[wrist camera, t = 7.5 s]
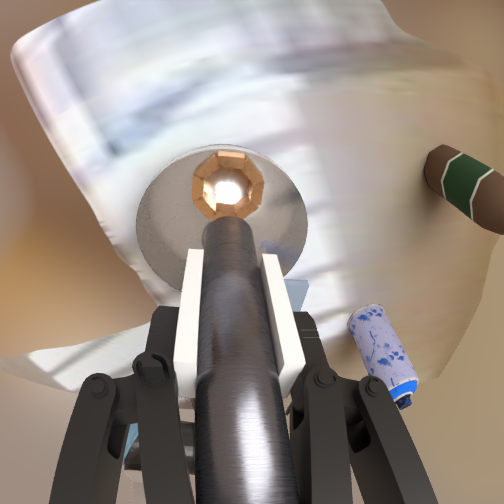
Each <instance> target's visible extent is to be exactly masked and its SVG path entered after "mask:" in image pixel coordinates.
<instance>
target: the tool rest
mask: <svg viewBox="0 0 504 504" xmlns="http://www.w3.org/2000/svg"><path fill="white" fill-rule="evenodd" d="M284 283H285V286H286V290H287V294H288V297H289V301H290V305H291V309H292V311H293V312H300V310H301V307H302V304H303V302H304V299H305V296H306V293H307V290H308V287H309V284H308V281H307V280H285V279H284Z"/></svg>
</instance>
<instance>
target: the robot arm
mask: <svg viewBox="0 0 504 504" xmlns="http://www.w3.org/2000/svg"><path fill="white" fill-rule="evenodd" d="M203 256H204V250H201V249H189V250H188V256H187V262H186V268H185V274H184V281H183V288H182V294H181V302H180V307H168V306H159V307H158V308H157V309H156V310H155V312H154V313H153V315H152V319H151V325H150V329H149V334H148V338H147V344H146V349H145V352H143V353H141V354H140V355H138V356H137V357H136V358H135V360H134V361H133V365H132V368H133V371H134V374H132V375H130V376H127V377H122V378H115V379H112V378H111V377H110V376H108V375H106V374H103V373H95V374H92V375H90V376H89V377H87V378H86V379H85V381H84V382H83V384H82V387H81V389H80V392H79V395H78V398H77V401H76V403H75V406H74V409H73V412H72V415H71V418H70V422H69V425H68V428H67V431H66V434H65V439H64V441H63V445H62V449H61V452H60V456H59V460H58V464H57V468H56V472H55V476H54V481H53V485H52V490H51V495H50V500H49V504H116V497H117V491H118V484H119V479H120V473H121V468H122V465H125V468H124V473H125V474H126V475H127V476H128V477H129V478H130V480H131V481H132V488H131V504H195V501H194V496H193V492H192V487H191V483H190V477H189V474H192V475H195V423H192V422H185V421H180V415H179V407H178V396H179V397H187V398H190V399H191V402H192V405H193V408H194V411H195V382H196V378H197V356H198V333H199V315H200V299H201V285H202V272H203ZM259 271H260V276H261V282H262V287H263V293H264V298H265V304H266V310H267V315H268V321H269V326H270V332H271V338H272V343H273V349H274V354H275V360H276V366H277V371H278V377H279V383H280V389H281V394H282V398H287V397H288V395H289V393H290V392H291V397H292V402H291V403H290V405H289V407H288V408H287V410H286V414H285V415H288V414H289V412H290V446H291V452H292V458H293V463H294V469H295V475H296V481H297V487H298V493H299V499H300V504H353V500H352V483H351V471H350V464H351V466H352V469H353V472H354V475H355V478H356V480H357V483H358V486H359V489H360V492H361V495H362V498H363V500H364V503H365V504H438V501H437V499H436V496H435V493H434V491H433V488H432V486H431V483H430V481H429V478H428V476H427V473H426V471H425V469H424V466H423V464H422V461H421V459H420V457H419V455H418V452H417V450H416V447H415V445H414V443H413V441H412V439H411V436H410V434H409V432H408V430H407V428H406V425H405V423H404V421H403V419H402V417H401V415H400V413H399V410H398V408H397V406H396V404H395V402H394V400H393V398H392V396H391V394H390V392H389V390H388V388H387V386H386V384H385V383H384V382H383V380H381V379H380V378H379V377H376V376H373V375H372V376H366V377H364V378H362V379H361V381H356V380H350V379H345V378H342V377H340V376H338V375H337V373H336V372H335V371H334V370H332V369H330V367H329V365H328V362H327V359H326V356H325V353H324V350H323V346H322V343H321V340H320V338H319V334H318V331H317V328H316V325H315V322H314V319H313V318H312V317H311V316H310V315H309V313H308V312H293V311H292V309H291V305H290V301H289V297H288V294H287V290H286V286H285V283H284V279H283V276H282V272H281V268H280V265H279V261H278V258H277V255H276V254H262V257H261V262H260V267H259Z"/></svg>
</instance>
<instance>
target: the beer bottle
mask: <svg viewBox="0 0 504 504" xmlns="http://www.w3.org/2000/svg"><path fill="white" fill-rule="evenodd" d="M424 171H425V175H426V179H427V182H428V186H429V187H430V188H432V189H433V190H434V191H435V192H436V193H438V194H439V195H441V196H442V197H443V198H445V199H446V200H447V201H449V202H450V203H451V204H453V205H454V206H455V207H456V208H458V209H459V210H460V211H462V212H463V213H464V214H465V215H466V216H468V217H469V218H470V219H471V220H473V221H474V222H475V223H477V224H478V225H480V226H481V227H482V228H484V229H487V230H489V231H492V232H495V233H498V234H501V235H504V177H503V176H502V175H501V174H499V173H498V172H496V171H495V170H493V169H492V168H490V167H488V166H486V165H485V164H483V163H481V162H479V161H477V160H475V159H474V158H472V157H470V156H468V155H466V154H464V153H462V152H460V151H458V150H456V149H454V148H452V147H449V146H447V145H441V146H439V147H438V148H436V149H435V150H433V151H431V152H430V153H429V156H428V159H427V162H426V165H425V168H424Z"/></svg>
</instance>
